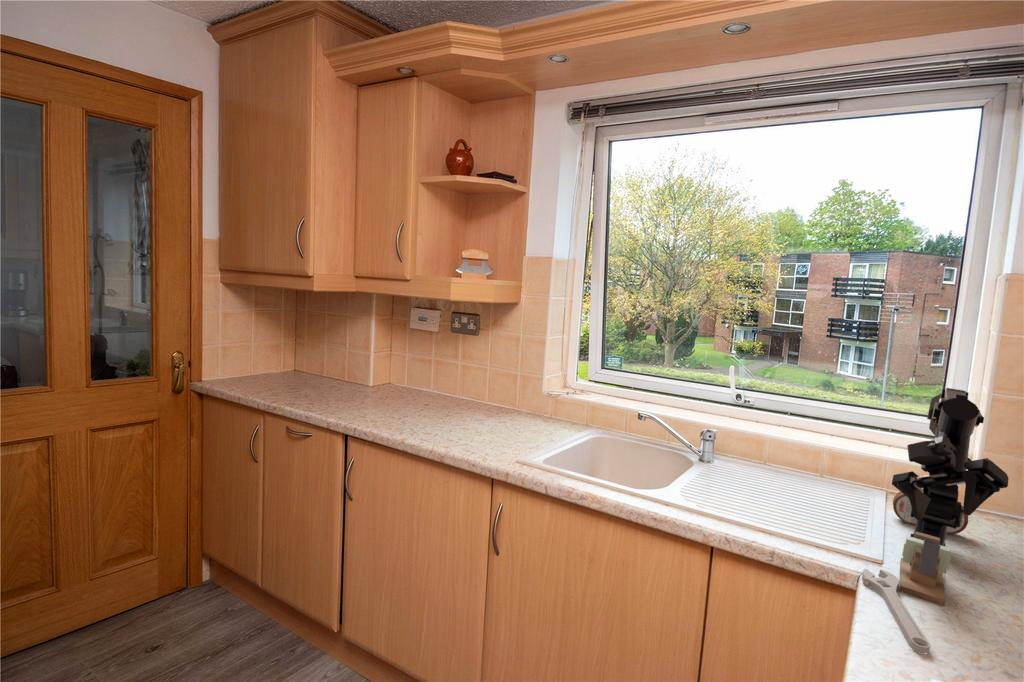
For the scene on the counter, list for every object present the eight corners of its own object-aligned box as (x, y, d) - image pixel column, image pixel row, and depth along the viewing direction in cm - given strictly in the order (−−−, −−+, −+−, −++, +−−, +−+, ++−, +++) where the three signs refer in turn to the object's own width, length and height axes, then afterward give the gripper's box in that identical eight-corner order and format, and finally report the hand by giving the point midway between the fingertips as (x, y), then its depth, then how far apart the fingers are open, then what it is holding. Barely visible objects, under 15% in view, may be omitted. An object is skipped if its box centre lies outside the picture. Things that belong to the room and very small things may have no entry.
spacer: (901, 556, 117) (905, 535, 116) (946, 570, 113) (950, 548, 112) (901, 560, 115) (905, 538, 115) (946, 574, 111) (951, 552, 111)
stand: (900, 563, 121) (907, 527, 120) (941, 575, 117) (948, 538, 116) (899, 591, 110) (906, 552, 108) (944, 606, 106) (952, 565, 105)
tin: (964, 535, 138) (971, 502, 136) (965, 540, 135) (972, 506, 134) (890, 515, 146) (896, 484, 145) (889, 520, 143) (895, 487, 142)
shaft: (917, 549, 117) (923, 522, 116) (932, 554, 115) (938, 526, 114) (918, 571, 108) (924, 541, 107) (934, 576, 106) (940, 546, 105)
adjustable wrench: (932, 658, 91) (934, 648, 91) (885, 645, 93) (886, 635, 93) (894, 580, 114) (895, 572, 114) (857, 572, 116) (858, 563, 116)
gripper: (878, 437, 123) (865, 497, 115) (969, 414, 107) (961, 483, 99) (916, 468, 124) (905, 530, 116) (1012, 450, 108) (1007, 521, 100)
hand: (941, 516), depth 108 cm, fingers open, 9 cm apart
